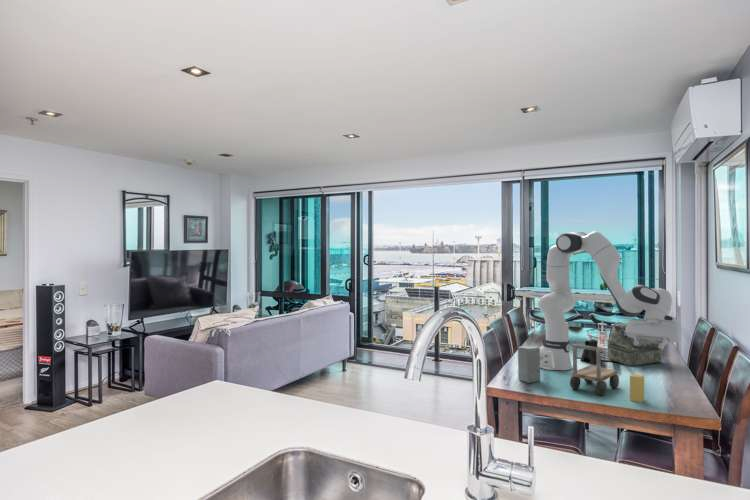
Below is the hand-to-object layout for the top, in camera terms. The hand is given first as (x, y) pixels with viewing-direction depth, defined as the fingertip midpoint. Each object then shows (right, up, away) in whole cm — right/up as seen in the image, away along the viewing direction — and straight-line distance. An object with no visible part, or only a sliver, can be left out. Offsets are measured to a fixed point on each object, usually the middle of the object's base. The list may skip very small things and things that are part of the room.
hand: (647, 346), depth 190 cm
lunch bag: (+25, -20, +53) cm, 62 cm away
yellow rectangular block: (-9, -20, -8) cm, 24 cm away
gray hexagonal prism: (-44, -21, +20) cm, 52 cm away
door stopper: (+1, -20, +52) cm, 55 cm away
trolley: (-19, -20, +8) cm, 29 cm away
